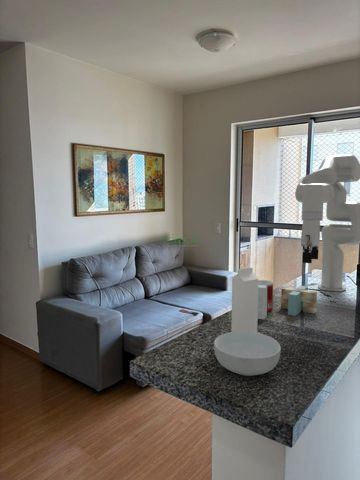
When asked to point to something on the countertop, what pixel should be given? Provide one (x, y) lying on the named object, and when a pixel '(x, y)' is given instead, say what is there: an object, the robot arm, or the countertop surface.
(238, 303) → the milk
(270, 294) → the canned food
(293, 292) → the light blue block
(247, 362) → the cereal bowl
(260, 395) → the countertop surface
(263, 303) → the skincare box
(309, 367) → the countertop surface
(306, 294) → the beige flat block
